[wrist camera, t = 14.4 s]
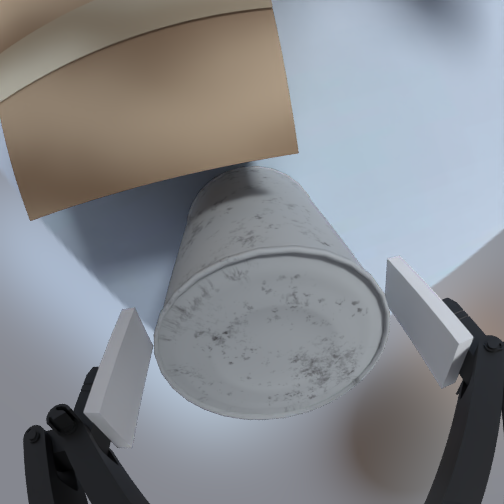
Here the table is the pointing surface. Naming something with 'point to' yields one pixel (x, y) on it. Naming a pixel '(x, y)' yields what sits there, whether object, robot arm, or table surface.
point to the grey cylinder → (266, 303)
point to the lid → (137, 93)
